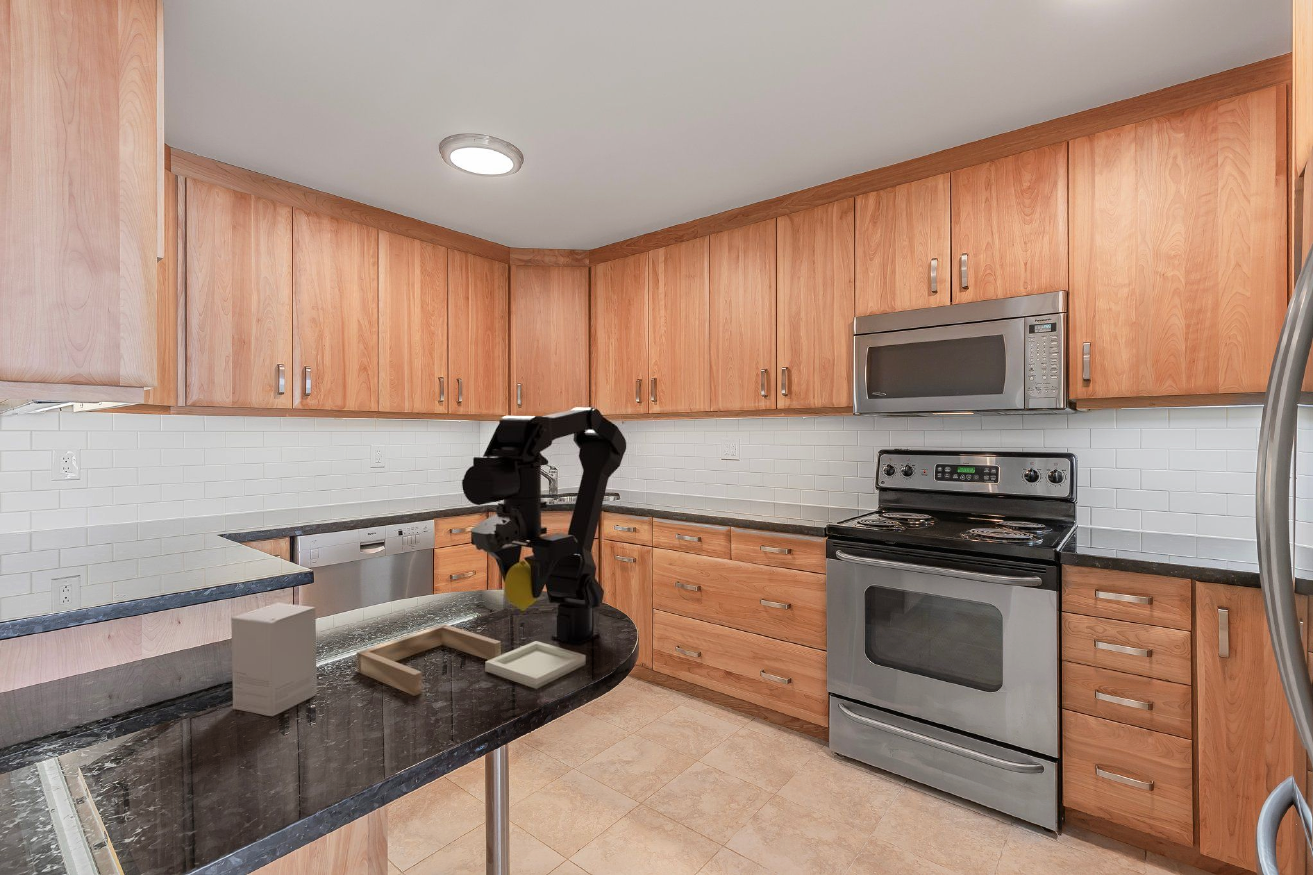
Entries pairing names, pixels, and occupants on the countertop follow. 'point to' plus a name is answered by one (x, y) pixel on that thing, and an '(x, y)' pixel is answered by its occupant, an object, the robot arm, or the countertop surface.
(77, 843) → the countertop surface
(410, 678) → the u-shaped wooden frame
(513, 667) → the dish
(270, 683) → the supplement box
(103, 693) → the countertop surface
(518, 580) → the lemon
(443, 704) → the countertop surface
